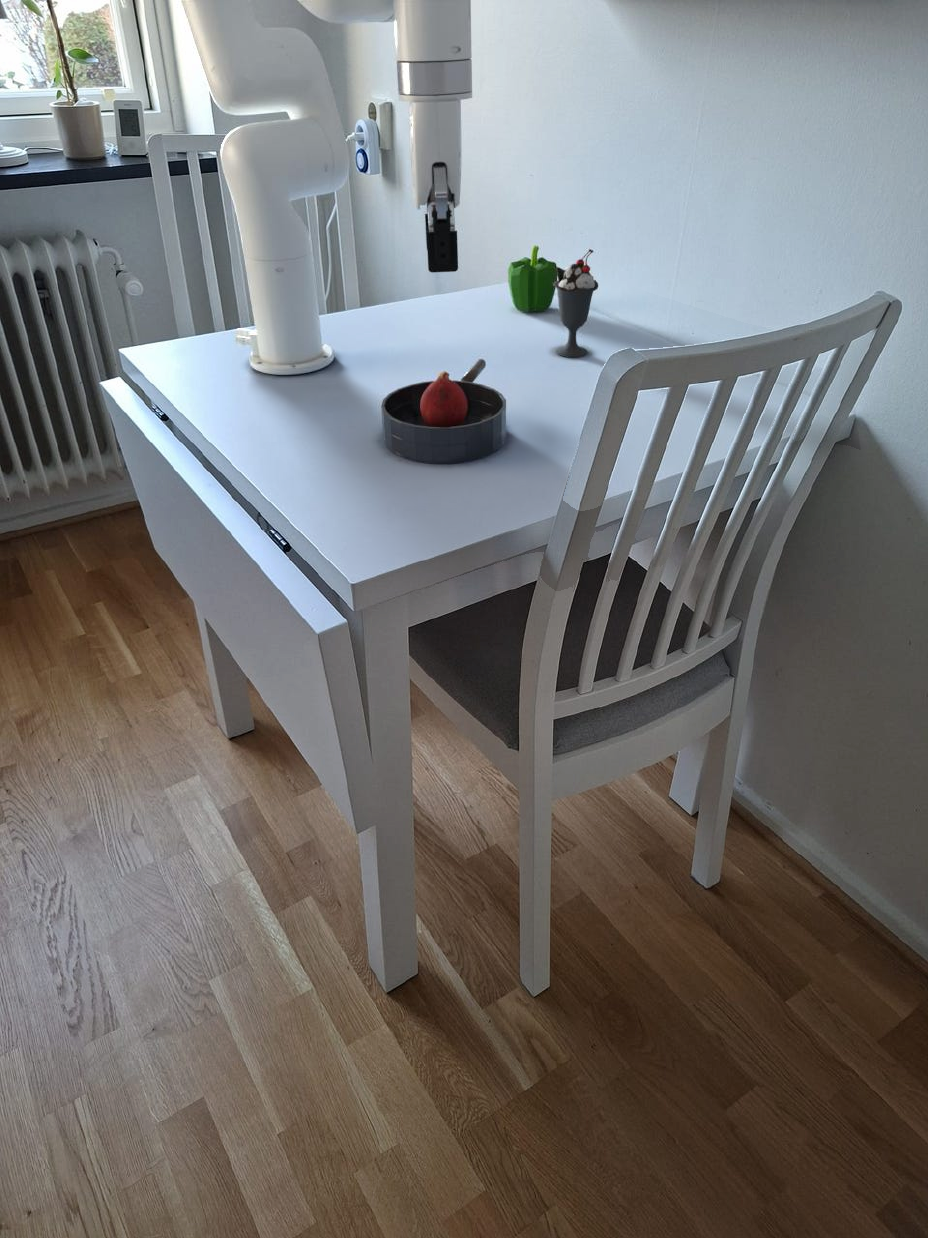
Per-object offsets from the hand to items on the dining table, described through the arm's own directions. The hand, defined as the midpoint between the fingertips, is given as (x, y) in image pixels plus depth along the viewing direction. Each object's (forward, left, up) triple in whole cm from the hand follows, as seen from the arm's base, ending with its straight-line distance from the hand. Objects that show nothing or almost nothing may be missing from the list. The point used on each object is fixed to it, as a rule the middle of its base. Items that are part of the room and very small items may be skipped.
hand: (441, 260), depth 97 cm
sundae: (+9, +34, -21) cm, 41 cm away
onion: (0, -1, -21) cm, 21 cm away
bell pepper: (-2, +54, -21) cm, 58 cm away
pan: (0, -1, -21) cm, 21 cm away
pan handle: (0, +11, -18) cm, 21 cm away
